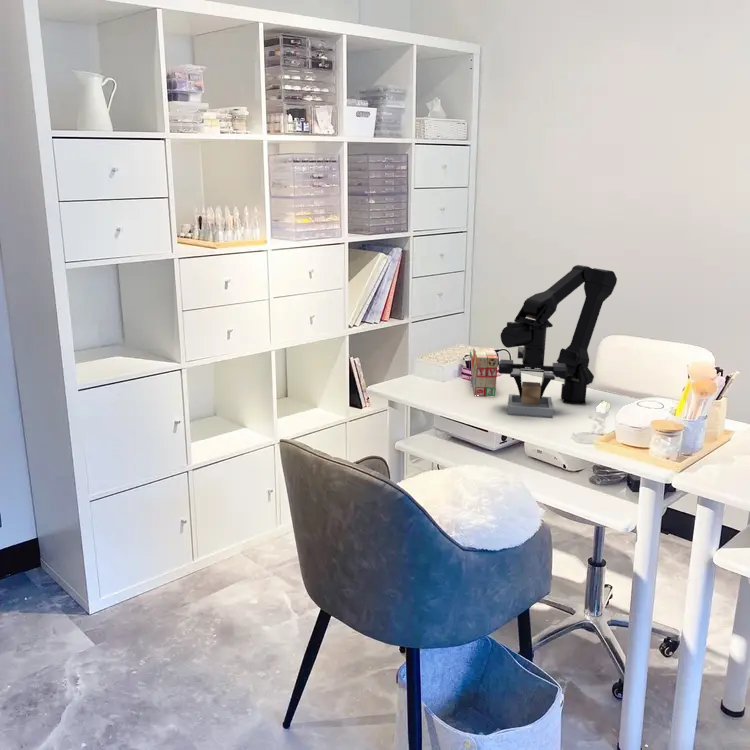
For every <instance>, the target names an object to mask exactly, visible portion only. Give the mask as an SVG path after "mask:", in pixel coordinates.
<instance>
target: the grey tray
mask: <svg viewBox="0 0 750 750" xmlns="http://www.w3.org/2000/svg"><path fill="white" fill-rule="evenodd" d="M507 400H508V401H507V415H508V416H516V417H517V416H518V417H519V416H520V417H534V418H546V419H547V418H548V419H553V411H554V407H553V402H552V397H551V396H543V395H542V397H541V399H540V405H535V404H521V398H520V394H515V393H514V394H513V393H512V394H511V393H509V394H508V398H507Z"/></svg>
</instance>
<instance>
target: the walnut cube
mask: <svg viewBox="0 0 750 750" xmlns="http://www.w3.org/2000/svg"><path fill="white" fill-rule="evenodd" d="M521 382H522V397H521V404H535V405H540V392H541V382H533V381H521Z"/></svg>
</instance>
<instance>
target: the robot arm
mask: <svg viewBox="0 0 750 750" xmlns="http://www.w3.org/2000/svg"><path fill="white" fill-rule="evenodd" d="M617 281H618V278H617V276H616V273H615V272H614V271H612V270H609V269H602V268H596V267H595V268H594V267H593V268H592V267H590V266H587V265H580V264H577V265H574V266H572V268H571V270H570V271H569V272H567V273H566V274H564V276H562V277H561V278H560V279H559V280H558V281H556V282H555V283H554V284H552V285H551V286H550V287H549V288H547V289H546V290H545V291H542V292H538V293H534V294H533V295H530V296H529V297H527V298H526V299H525V300H524V302H523V305H522V307H521V308H520V310H519V312H518V313H517V315H516V317H514V321H507V322H506V326H505V327H504V328H502V330H501V333H500V341H501V343H502V345H503V346H504V347H505V348H506V349H507V348H508V349H509V348H515V347H516V348H517V359H519V360H520V359H521V362H522V363H514V360H513V359H503V358H502V359H500V360H498V371H497V374H501V375H509V376H510V378H513V379H514V381H515V384H516V386H517V390H518V395H520V398H521V397H522V382H523V381H522V372H531V373H533V372H534V373H543V374H542V380H541V382H540V384H541V392H540V399H541V397H542V396H543V394H544V393H545V390H546V389H547V387H548V385H549V384H550V382H551V381H553V380H554V381H555V379H556V378H559V379H561V380H563V383H561V390H560V391H561V392H560V398H561V400H562V403H564V404H573V405H574V404H576V405H586V404H587V402H586V401H587V399H586V398H587V387H588V385H591V384H592V383H593V381H594V378H595V376H594V374H593V373H592V371H591V370H590V369H589V364H590V357H589V353H588V351H589V350H588V349H589V347H590V342H591V340H592V336H593V333H594V331H595V327H596V325H597V321H598V319H599V315H600V313H601V309H602V306H603V304H604V302H605V301H606V300H607V299H608V298H609V297H610V296H611V295H612V293H613V292H614V289H615V287H616V285H617ZM581 285H583V289H584V294H585V295H584V296H585V299H584V302H583V305H582V308H581V311H580V314H579V316H578V320H577V322H576V323H577V324H576V327H575V329H574V332H573V335H572V338H571V341H570V344H569V345H568V346H567V347H566V348H561V349H560V351H559V354H558V357H557V360H556V362H552V365H544V363H545V355H546V354H545V351H546V341H547V339H546V338H547V328H552V327H553V323H552V322H550V321H549V319H550V318H552V316H553V315H554V314H555V312H557V308H558V305H559V304H560V303H561V302H562V301H563V300H565V299H566V298H567V297H568V296H570V295H571V294H572V293H573V292H574V291H576V290H577V289H578V288H579V287H580V286H581Z"/></svg>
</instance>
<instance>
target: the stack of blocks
mask: <svg viewBox="0 0 750 750" xmlns="http://www.w3.org/2000/svg"><path fill="white" fill-rule="evenodd" d="M470 358H471V375H472V376H471V382H470V384H472V385H471V387H473V388H472V390H473V391H474V392H473V391H472V392H473V395H474V396H475V395H476V396H475V397H487V396H495V397H496V393H497V392H496V391H497V387H496V386H497V376H498V367H499V357H498V355H497V352H496V351H495V349H494V348H493V347H473V350H471V349H470V351H469V359H470ZM477 395H479V396H477Z"/></svg>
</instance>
